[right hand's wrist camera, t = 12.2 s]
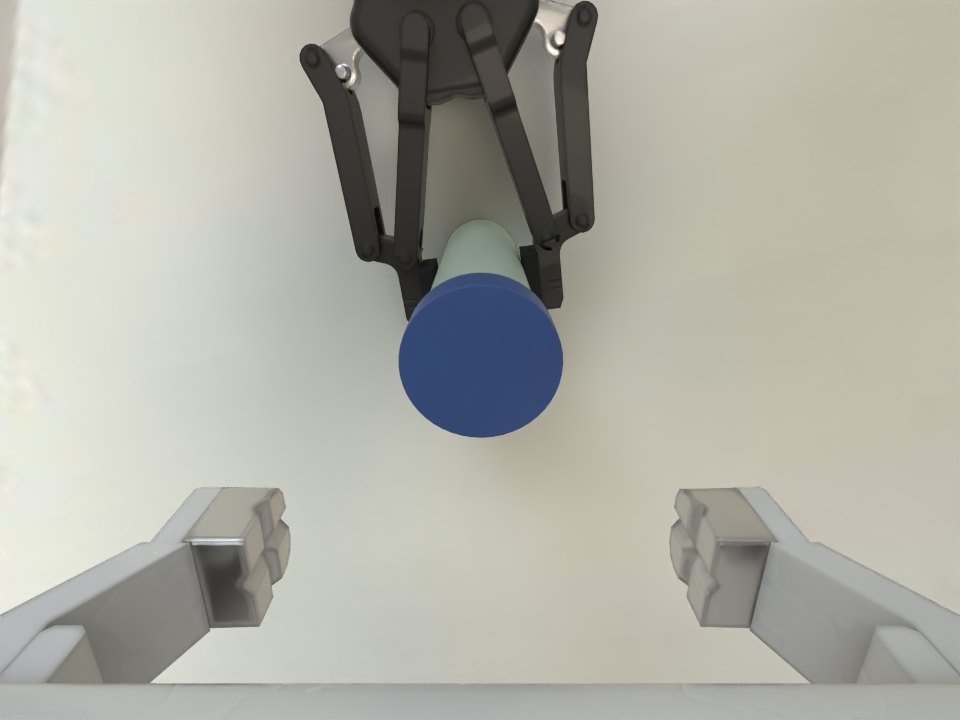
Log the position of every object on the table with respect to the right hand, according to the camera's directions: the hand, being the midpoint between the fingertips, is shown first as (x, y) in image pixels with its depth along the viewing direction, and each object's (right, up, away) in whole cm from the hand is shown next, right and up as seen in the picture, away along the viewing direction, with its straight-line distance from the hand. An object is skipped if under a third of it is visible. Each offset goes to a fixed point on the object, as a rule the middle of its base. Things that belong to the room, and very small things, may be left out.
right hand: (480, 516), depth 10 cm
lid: (0, +3, +7) cm, 8 cm away
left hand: (+1, +2, +21) cm, 21 cm away
